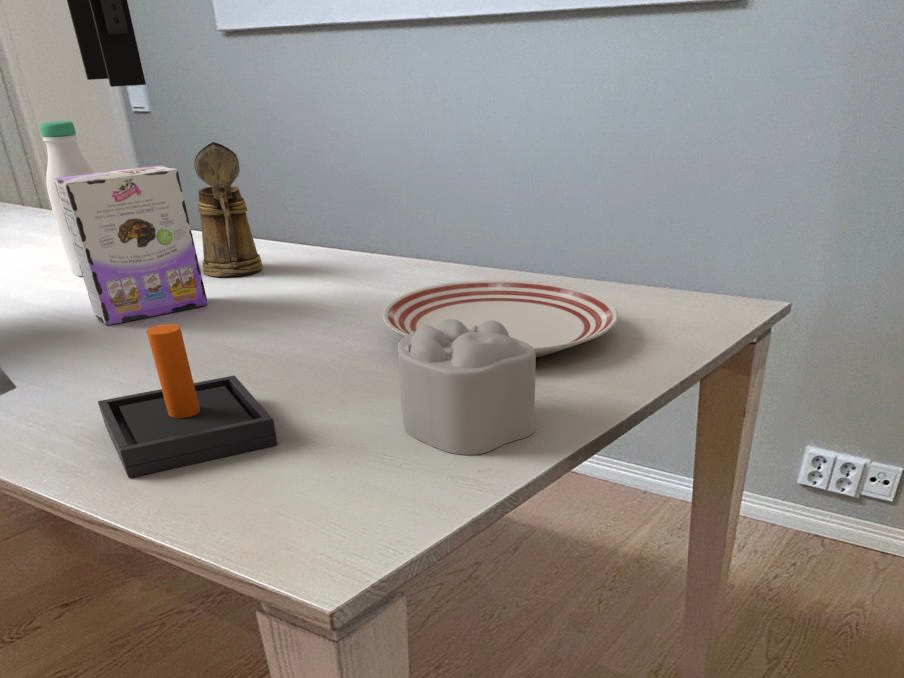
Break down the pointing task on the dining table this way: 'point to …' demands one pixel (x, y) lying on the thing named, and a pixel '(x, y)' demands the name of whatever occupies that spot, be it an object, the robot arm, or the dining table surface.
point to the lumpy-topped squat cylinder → (466, 386)
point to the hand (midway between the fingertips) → (115, 82)
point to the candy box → (133, 242)
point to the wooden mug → (224, 216)
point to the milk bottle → (63, 175)
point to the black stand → (178, 396)
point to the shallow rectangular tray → (191, 444)
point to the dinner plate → (508, 311)
